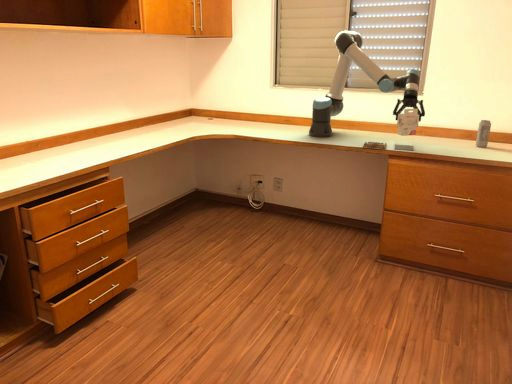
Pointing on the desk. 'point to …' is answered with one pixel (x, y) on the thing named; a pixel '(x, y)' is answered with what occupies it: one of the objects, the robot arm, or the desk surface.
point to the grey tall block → (483, 133)
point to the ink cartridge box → (408, 122)
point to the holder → (374, 145)
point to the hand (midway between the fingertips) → (407, 125)
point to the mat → (403, 147)
